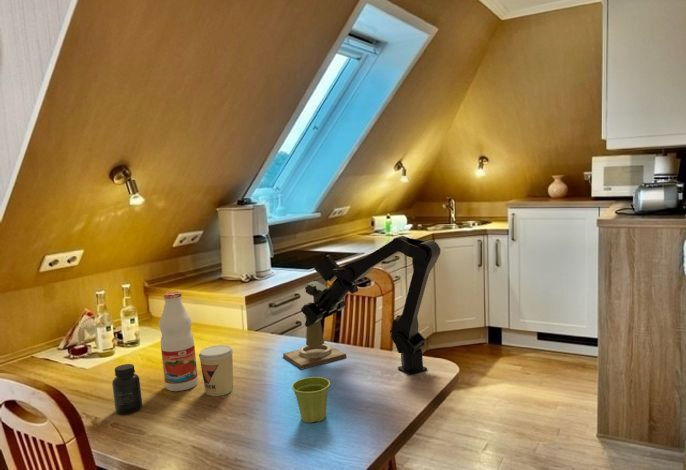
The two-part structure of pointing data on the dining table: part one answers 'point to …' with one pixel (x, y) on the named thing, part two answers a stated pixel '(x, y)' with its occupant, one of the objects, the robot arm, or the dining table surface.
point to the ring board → (314, 355)
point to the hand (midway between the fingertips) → (310, 323)
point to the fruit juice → (177, 345)
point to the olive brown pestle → (314, 335)
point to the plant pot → (312, 397)
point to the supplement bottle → (126, 390)
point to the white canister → (217, 369)
